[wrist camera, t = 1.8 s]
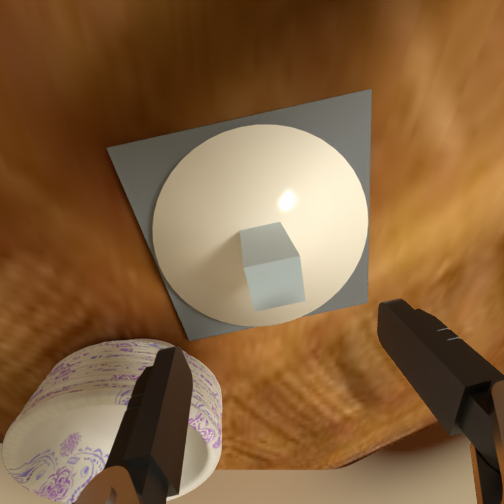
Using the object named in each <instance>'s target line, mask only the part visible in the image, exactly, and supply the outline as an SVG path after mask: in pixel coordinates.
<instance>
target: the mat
mask: <svg viewBox="0 0 504 504" xmlns="http://www.w3.org/2000/svg"><path fill="white" fill-rule="evenodd" d="M371 96H372V89H369V90H364V91H360V92H355V93H351V94H346V95H342V96H337V97H333V98H328V99H324V100H319V101H315V102H310V103H306V104H301V105H297V106H292V107H288V108H283V109H279V110H274V111H270V112H265V113H261V114H256V115H252V116H247V117H243V118H238V119H234V120H229V121H225V122H220V123H216V124H211V125H207V126H202V127H198V128H193V129H189V130H184V131H180V132H175V133H171V134H167V135H162V136H158V137H153V138H149V139H144V140H140V141H135V142H131V143H126V144H122V145H117V146H113V147H108V148H107V151H108V153H109V155H110V158H111V160H112V162H113V165H114V167H115V169H116V172H117V174H118V176H119V179H120V181H121V183H122V186H123V188H124V190H125V193H126V195H127V197H128V199H129V202H130V204H131V206H132V209H133V211H134V213H135V216H136V218H137V220H138V223H139V225H140V227H141V230H142V232H143V234H144V237H145V239H146V241H147V244H148V246H149V248H150V251H151V253H152V255H153V258H154V260H155V262H156V265H157V267H158V269H159V271H160V274H161V276H162V278H163V281H164V283H165V285H166V288H167V290H168V292H169V295H170V297H171V299H172V302H173V304H174V306H175V309H176V311H177V313H178V316H179V318H180V320H181V323H182V325H183V327H184V330H185V332H186V334H187V337H188V339H189V341H193V340H197V339H202V338H207V337H211V336H216V335H221V334H225V333H230V332H234V331H239V330H244V329H248V328H253V327H255V326H240V325H234V324H229V323H225V322H221V321H219V320H216V319H213V318H211V317H209V316H207V315H205V314H203V313H201V312H199V311H198V310H196V309H195V308H193V307H192V306H190V305H189V304H188V303H187V302H185V301H184V300H183V299H182V298H181V297H180V296H179V295H178V294H177V293H176V292H175V291H174V289H173V288H172V287H171V285H170V284H169V283H168V281H167V280H166V278H165V276H164V274H163V272H162V270H161V268H160V266H159V263H158V260H157V257H156V254H155V249H154V244H153V230H152V227H153V217H154V211H155V207H156V203H157V200H158V197H159V195H160V192H161V190H162V188H163V185H164V184H165V182H166V180H167V179H168V177H169V175H170V174H171V172H172V171H173V170H174V169H175V167H176V166H177V165H178V164H179V163H180V161H181V160H182V159H183V158H184V157H185V156H187V155H188V154H189V153H190V152H191V151H192V150H193V149H194V148H196V147H197V146H199V145H200V144H202V143H203V142H205V141H207V140H208V139H210V138H212V137H214V136H216V135H219V134H221V133H223V132H226V131H229V130H232V129H235V128H239V127H244V126H251V125H257V124H262V125H281V126H287V127H293V128H296V129H299V130H302V131H305V132H308V133H310V134H312V135H314V136H316V137H318V138H320V139H322V140H323V141H325V142H326V143H328V144H329V145H330V146H332V147H333V148H334V149H336V150H337V151H338V152H339V153H340V154H341V155H342V156H343V157H344V158H345V159H346V161H347V162H348V163H349V165H350V166H351V167H352V169H353V170H354V172H355V174H356V176H357V177H358V179H359V181H360V183H361V186H362V189H363V192H364V194H365V199H366V204H367V209H368V230H367V237H366V242H365V247H364V250H363V252H362V255H361V258H360V260H359V262H358V264H357V266H356V268H355V270H354V272H353V273H352V275H351V276H350V278H349V279H348V281H347V282H346V283H345V284H344V285H343V287H342V288H341V289H340V290H339V291H338V292H337V293H336V294H335V295H334V296H333V297H332V298H331V299H329V300H328V301H327V302H326V303H324V304H323V305H322V306H320V307H319V308H317V309H315V310H314V311H312V312H310V313H308V314H306V315H304V316H309V315H314V314H318V313H323V312H328V311H332V310H337V309H342V308H346V307H351V306H356V305H360V304H365V303H368V254H369V202H370V149H371ZM304 316H302V317H304ZM257 327H258V326H257Z"/></svg>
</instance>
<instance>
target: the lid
mask: <svg viewBox="0 0 504 504" xmlns="http://www.w3.org/2000/svg"><path fill="white" fill-rule="evenodd" d="M152 230H153V244H154V249H155V254H156V257H157V260H158V263H159V266H160V268H161V270H162V272H163V274H164V276H165V278H166V280H167V281H168V283H169V284H170V285H171V287H172V288H173V289H174V291H175V292H176V293H177V294H178V295H179V296H180V297H181V298H182V299H183V300H184V301H185V302H187V303H188V304H189V305H190V306H192V307H193V308H195V309H196V310H198V311H199V312H201V313H203V314H205V315H207V316H209V317H211V318H213V319H216V320H219V321H221V322H225V323H229V324H234V325H240V326H255V327H257V326H270V325H276V324H281V323H285V322H288V321H292V320H294V319H297V318H300V317H302V316H304V315H306V314H308V313H310V312H312V311H314V310H315V309H317V308H319V307H320V306H322V305H323V304H324V303H326V302H327V301H328V300H329V299H331V298H332V297H333V296H334V295H335V294H336V293H337V292H338V291H339V290H340V289H341V288H342V287H343V285H344V284H345V283H346V282H347V281H348V279H349V278H350V276H351V275H352V273H353V272H354V270H355V268H356V266H357V264H358V262H359V260H360V258H361V255H362V252H363V250H364V247H365V242H366V237H367V230H368V209H367V204H366V199H365V194H364V192H363V189H362V186H361V183H360V181H359V179H358V177H357V176H356V174H355V172H354V170H353V169H352V167H351V166H350V165H349V163H348V162H347V161H346V159H345V158H344V157H343V156H342V155H341V154H340V153H339V152H338V151H337V150H336V149H334V148H333V147H332V146H330V145H329V144H328V143H326V142H325V141H323V140H322V139H320V138H318V137H316V136H314V135H312V134H310V133H308V132H305V131H302V130H299V129H296V128H293V127H287V126H281V125H262V124H257V125H251V126H244V127H239V128H235V129H232V130H229V131H226V132H223V133H221V134H219V135H216V136H214V137H212V138H210V139H208V140H207V141H205V142H203V143H202V144H200V145H199V146H197V147H196V148H194V149H193V150H192V151H191V152H190V153H189V154H188V155H187V156H185V157H184V158H183V159H182V160H181V161H180V163H179V164H178V165H177V166H176V167H175V169H174V170H173V171H172V172H171V174H170V175H169V177H168V179H167V180H166V182H165V184H164V185H163V188H162V190H161V192H160V195H159V197H158V200H157V203H156V207H155V211H154V217H153V227H152Z"/></svg>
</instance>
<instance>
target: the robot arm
mask: <svg viewBox="0 0 504 504" xmlns="http://www.w3.org/2000/svg"><path fill="white" fill-rule="evenodd" d="M377 333H378V338H379V341H380V343H381V345H382V346H383V348H384V349H385V351H386V352H387V353H388V355H389V356H390V357H391V359H392V360H393V361H394V363H395V364H396V365H397V367H398V368H399V369H400V370H401V372H402V373H403V374H404V376H405V377H406V378H407V380H408V381H409V382H410V384H411V385H412V386H413V388H414V389H415V390H416V392H417V393H418V394H419V396H420V397H421V398H422V400H423V401H424V402H425V404H426V405H427V406H428V408H429V409H430V410H431V412H432V413H433V414H434V416H435V417H436V418H437V420H438V421H439V422H440V424H441V425H442V426H443V427H444V429H445V430H446V432H447V433H448V434H449V436H453V435H458V434H462V433H464V434H465V435H466V436H467V438H468V439H469V440H470V441H471V445H470V450H471V458H472V465H473V474H474V482H475V489H476V496H477V504H504V375H503V374H502V373H501V372H499V371H498V370H497V369H496V368H495V367H494V366H492V365H491V364H490V363H489V362H488V361H486V360H485V359H484V358H483V357H482V356H481V355H479V354H478V353H477V352H476V351H475V350H474V349H472V348H471V347H470V346H469V345H468V344H467V343H465V342H464V341H463V340H462V339H459V338H458V336H457V335H456V334H455V333H454V332H452V331H451V330H449V329H448V327H447V326H445V325H444V324H443V323H442V322H441V321H440V320H438V319H437V318H436V317H435V316H433V315H431V314H429V313H427V312H425V311H423V310H421V309H416V310H414V309H413V308H412V307H411V306H410V305H409V304H407V303H406V302H405V301H404V300H402V299H395V300H391V301H386V302H382V303H380V304H379V308H378V327H377ZM192 391H193V377H192V372H191V370H190V367H189V365H188V363H187V360H186V358H185V356H184V354H183V351H182V349H181V347H180V346H174V347H170V348H165V349H160V350H159V351H158V352H157V355H156V358H155V361H154V364H153V366H149V367H146V368H145V370H144V371H143V372H142V374H141V375H140V376H139V378H138V379H137V380H136V383H135V386H134V389H133V391H132V394H131V398H130V400H129V402H128V405H127V410H126V411H125V413H124V416H123V419H122V421H121V424H120V427H119V430H118V432H117V435H116V438H115V440H114V443H113V446H112V449H111V451H110V454H109V457H108V460H107V462H106V464H105V467H104V469H103V471H101V472H100V473H99V474H97V475H96V476H95V477H94V478H93V479H92V480H91V481H90V482H89V483H88V484H87V485H86V486H85V488H84V489H83V490H82V492H81V493H80V495H79V497H78V498H77V500H76V501H75V502H74V503H72V504H166V499H167V497H171V496H175V495H179V491H180V483H181V475H182V468H183V460H184V452H185V445H186V437H187V429H188V421H189V414H190V406H191V398H192Z"/></svg>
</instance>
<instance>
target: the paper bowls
mask: <svg viewBox="0 0 504 504" xmlns="http://www.w3.org/2000/svg"><path fill="white" fill-rule="evenodd" d="M174 346H175V345H173V344H170V343H167V342H164V341H160V340H155V339H131V340H120V341H108V342H103V343H99V344H96V345H93V346H88V347H85V348H83V349H81V350H79V351H76V352H74V353H72V354H70V355H69V356H67V357H65V358H64V359H63V360H61V361H60V362H59V363H58V364H56V365H55V366H54V368H53V369H52V370H51V372H50V373H49V374H48V376H47V377H46V378H45V379H44V381H43V382H42V383H41V384H40V386H39V387H38V389H37V390H36V392H35V393H34V394H33V395H32V396H31V397H30V399H29V401H28V402H27V404H26V405H25V407H24V409H23V410H22V412H21V413H20V415H19V416H18V417H17V418H16V419H15V420H14V421H13V422H12V424H11V425H10V427H9V429H8V431H7V433H6V435H5V438H4V441H3V445H2V458H3V462H4V464H5V467H6V468H7V470H8V472H9V473H10V474H11V476H12V477H13V478H14V479H15V480H16V481H17V482H18V483H20V484H21V485H22V486H23V487H25V488H27V489H28V490H30V491H32V492H33V493H35V494H37V495H39V496H42V497H45V498H47V499H50V500H53V501H57V502H60V503H63V504H72V503H74V502H75V501H76V500H77V498H78V497H79V495H80V493H81V492H82V490H83V489H84V488H85V486H86V485H87V484H88V483H89V482H90V481H91V480H92V479H93V478H94V477H95V476H96V475H97V474H99V473H100V472H101V471H103V469H104V467H105V464H106V462H107V460H108V457H109V454H110V451H111V449H112V446H113V443H114V440H115V438H116V435H117V432H118V430H119V427H120V424H121V421H122V419H123V416H124V413H125V411H126V410H127V405H128V402H129V400H130V398H131V394H132V391H133V389H134V386H135V383H136V380H137V379H138V378H139V376H140V375H141V374H142V372H143V371H144V370H145V368H146V367H149V366H153V364H154V361H155V358H156V355H157V352H158V351H159V350H160V349H165V348H170V347H174ZM182 351H183V350H182ZM183 354H184V356H185V358H186V360H187V363H188V365H189V367H190V370H191V372H192V377H193V391H192V398H191V406H190V414H189V421H188V429H187V437H186V445H185V452H184V460H183V468H182V475H181V483H180V491H179V495H175V496H171V497H167V499H166V501H169V500H172V499H175V498H177V497H180V496H182V495H184V494H186V493H188V492H190V491H192V490H193V489H195V488H196V487H198V486H199V485H200V484H202V483H203V482H204V481H205V480H206V479H207V478H208V477H209V476H210V475H211V474H212V473H213V471H214V470H215V467H216V466H217V464H218V461H219V459H220V456H221V449H222V446H221V445H222V444H221V442H222V395H221V388H220V385H219V383H218V381H217V380H216V377H215V376H214V374H213V373H212V372H211V371H210V370H209V369H208V368H207V367H206V366H205V365H204V364H203V363H202V362H200V361H199V360H198V359H196V358H194V357H193V356H191V355H188V354H187V353H186V352H185V351H183Z"/></svg>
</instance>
